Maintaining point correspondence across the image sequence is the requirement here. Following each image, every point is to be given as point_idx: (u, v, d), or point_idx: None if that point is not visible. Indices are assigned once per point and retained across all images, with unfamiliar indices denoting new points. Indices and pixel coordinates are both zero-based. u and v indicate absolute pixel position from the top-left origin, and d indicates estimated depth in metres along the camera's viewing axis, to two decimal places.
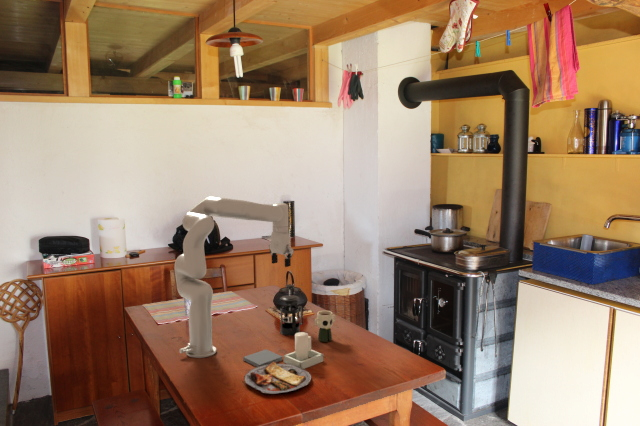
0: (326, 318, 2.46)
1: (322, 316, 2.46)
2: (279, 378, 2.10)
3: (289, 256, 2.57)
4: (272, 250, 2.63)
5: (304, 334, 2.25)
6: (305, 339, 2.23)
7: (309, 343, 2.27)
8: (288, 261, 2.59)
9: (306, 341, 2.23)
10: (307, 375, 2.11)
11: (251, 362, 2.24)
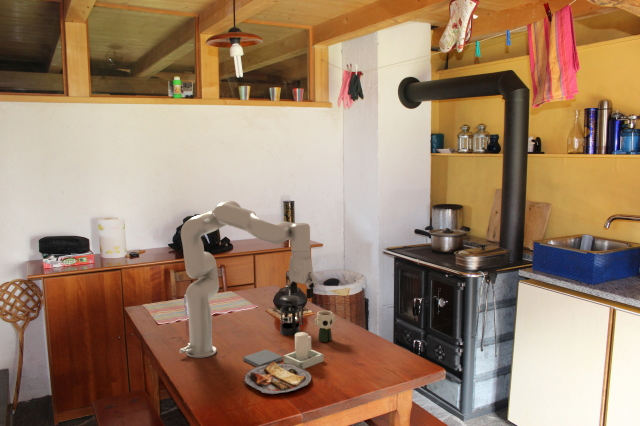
0: (326, 318, 2.46)
1: (322, 316, 2.46)
2: (279, 378, 2.10)
3: (312, 286, 2.16)
4: (291, 278, 2.22)
5: (304, 334, 2.25)
6: (305, 338, 2.23)
7: (309, 343, 2.27)
8: (311, 292, 2.18)
9: (306, 341, 2.23)
10: (307, 375, 2.11)
11: (251, 362, 2.24)
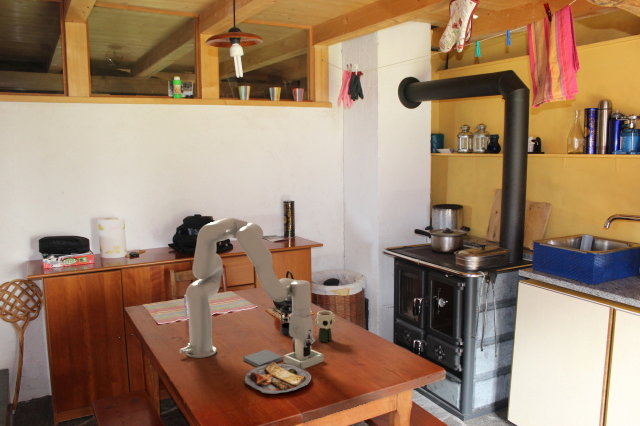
0: (326, 318, 2.46)
1: (322, 316, 2.46)
2: (279, 378, 2.10)
3: (309, 345, 2.21)
4: (291, 334, 2.25)
5: None
6: None
7: None
8: (307, 350, 2.22)
9: (306, 341, 2.23)
10: (307, 375, 2.11)
11: (251, 362, 2.24)
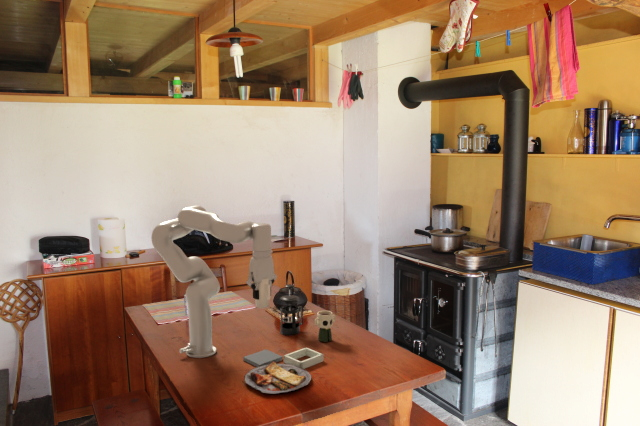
0: (326, 318, 2.46)
1: (322, 316, 2.46)
2: (279, 378, 2.10)
3: (250, 286, 2.21)
4: None
5: None
6: None
7: (266, 291, 2.21)
8: (253, 293, 2.22)
9: None
10: (307, 375, 2.11)
11: (251, 362, 2.24)
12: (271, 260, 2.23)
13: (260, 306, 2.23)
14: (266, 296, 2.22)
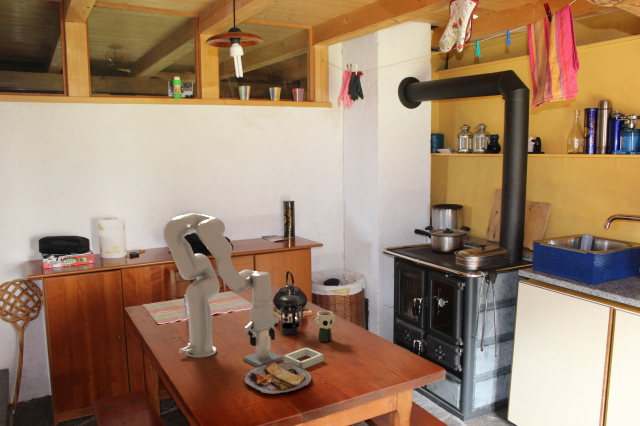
0: (326, 318, 2.46)
1: (322, 316, 2.46)
2: (279, 378, 2.10)
3: (247, 333, 2.23)
4: None
5: None
6: (256, 333, 2.25)
7: (266, 342, 2.24)
8: (250, 339, 2.24)
9: (257, 336, 2.25)
10: (307, 375, 2.11)
11: (251, 362, 2.24)
12: (271, 308, 2.26)
13: (260, 357, 2.26)
14: (266, 347, 2.25)
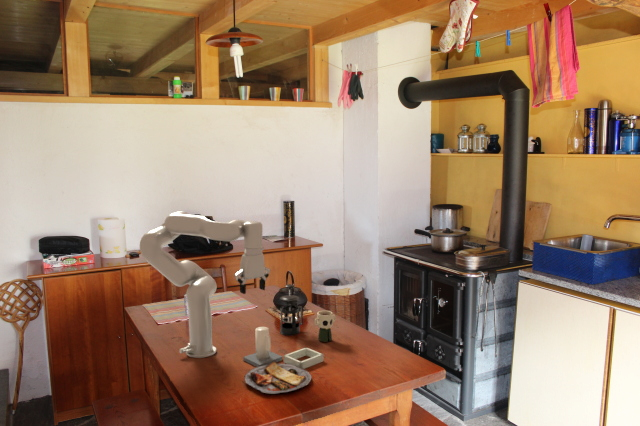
0: (326, 318, 2.46)
1: (322, 316, 2.46)
2: (279, 378, 2.10)
3: None
4: None
5: (261, 330, 2.26)
6: (256, 333, 2.25)
7: (266, 342, 2.24)
8: (240, 287, 2.27)
9: (257, 336, 2.25)
10: (307, 375, 2.11)
11: (251, 362, 2.24)
12: (262, 257, 2.29)
13: (260, 357, 2.26)
14: (266, 347, 2.25)
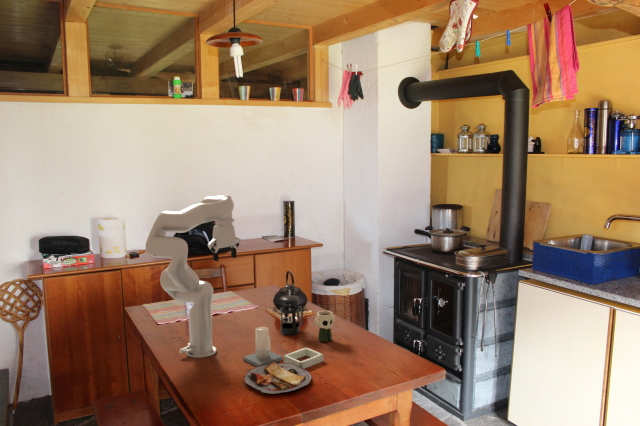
0: (326, 318, 2.46)
1: (322, 316, 2.46)
2: (279, 378, 2.10)
3: (210, 249, 2.48)
4: None
5: (261, 330, 2.26)
6: (256, 333, 2.25)
7: (266, 342, 2.24)
8: (213, 255, 2.49)
9: (257, 336, 2.25)
10: (307, 375, 2.11)
11: (251, 362, 2.24)
12: (232, 228, 2.52)
13: (260, 357, 2.26)
14: (266, 347, 2.25)
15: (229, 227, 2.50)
